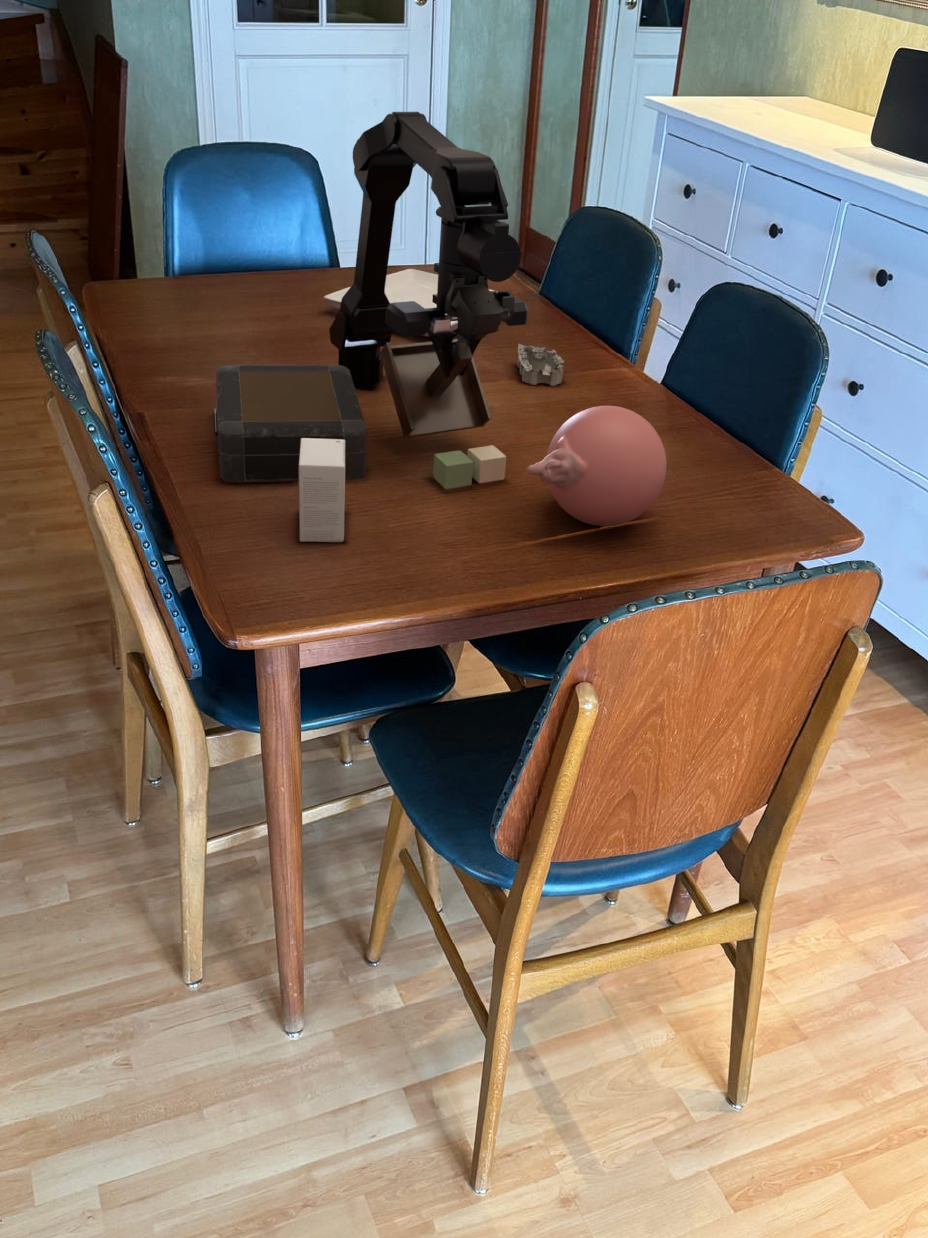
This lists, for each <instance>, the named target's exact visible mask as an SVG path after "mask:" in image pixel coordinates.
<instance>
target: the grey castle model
mask: <svg viewBox="0 0 928 1238" xmlns="http://www.w3.org/2000/svg"><path fill="white" fill-rule="evenodd" d="M517 355H518V356H517V357H518V358H517V365H516V366H517V368H518V369H519V374H520V376H521V380H522V382H523V383H526V384H529V385H531V386H537V384H547V385H549V386H552V387H555V386H557V385H559V384H561V383H562V382H563V377H564V370H563V368H564V367H565V360H564V359H563V358H562V357H561V356H559V355H558V354H557V351H556V350H555V349H554V348H552V349H551V350H547V349H546V346H543V347H539V346H533V345H528V346H527V345H524V344H521V343H518V345H517Z"/></svg>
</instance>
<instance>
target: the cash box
mask: <svg viewBox="0 0 928 1238" xmlns="http://www.w3.org/2000/svg"><path fill="white" fill-rule="evenodd" d="M215 382H216V384H215V385H216V386H215V387H216V404H215V407H216V408H214V409H212V419H213V420H212V422H213V434H214V435H215V436H216V437H217V447H218V463H219V464H218V466H219V476H220V478H221V479H222V480H223V482H227V483H232V484H234V483H235V484H239V483H240V484H241V483H242V484H243V483H247V484H248V483H283V482H286V483H288V482H290V483H291V482H297V481H299V454H300V442H301V438H315V439H342V440H345V480H358V479H362V478H364V477H365V476H366V473H367V459H368V457H367V456H368V455H367V454H368V428H367V425H366V422H365V417H364V415H363V411H362V408H361V405H360V401H359V397H358V394H357V390H356V387H354V384H353V380H352V377H351V374H350V370H349V369H348V368H346V367H344V366H342V365H339V364H225V365H222V366H219V368H217V369H216V373H215Z"/></svg>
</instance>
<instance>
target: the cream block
mask: <svg viewBox="0 0 928 1238" xmlns="http://www.w3.org/2000/svg"><path fill="white" fill-rule="evenodd" d="M466 456H467V457H468V458H469V459H470V460H472V461H473V471H472V479H473V480H475V481H476V482H477V483H478V484H483V483H484V484H485V483H491V482H496V481H502V480H505V476H506V465H507V455H506V454H504V452H502V451H501V450H499V448H497V447H496V446H495V445H494V444H493V445H485V446H479V447H472V448H467V454H466Z"/></svg>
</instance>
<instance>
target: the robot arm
mask: <svg viewBox="0 0 928 1238" xmlns="http://www.w3.org/2000/svg"><path fill="white" fill-rule="evenodd" d="M352 163H353V167H354V168H353V174H354V177H355V178H356V180H357V183H358V185H359V187H360V189H361V191H362V202H361V212H360V221H359V230H358V239H357V251H356V260H355V266H354V267H355V268H354V277H353V283H352V285H350V286H349V287H350V289H349V290H348V291H347V292H346V294H345V295H344V296H343V297H342V300H341V305H340V309H339V310H338V314H337V315H336V317H335V319H334V320H333V321H332V324H331V325H330V327H329V328H328V329H329V330H328V332H329V333H328V334H329V340H330V343H331V344H332V346H334V348H336V349H337V350H338V365H342V366H344V367H346V368H348V369H349V370H350V374H351V377H352V380H353V384H354V387H355V388H358V389H366V390H374V389H375V388H376V386H377V385H378V384H379V383H380V382H381V380H382V379H383V378H384V366H383V362H382V359H381V355H380V352H381V350H382V349H381V348H383V347H384V345H385V344H386V343H391V339H392V334H393V331H395V332H396V333H397V334H398V335H400V336H402V337H415V336H421V335H425V334H426V333H428V335H429V337H428V338H429V339H430V342H431V341H432V344H433V346H434V349H435V351H436V354H437V357H438V360H439V363H440V366H441V368H442V371H443V374H444V376H445V377H447V378H448V377H450V372H451V350H452V341H453V339H457V343H462V342H468V345H469V348H470V351H471V355H472V356H473V357H474V354H475V352H476V350H477V348H478V346H479V344H480V342H481V341H482V340H483V339H484V338H485V337H487V336H488V335H489V334H494V333H497V332H498V330H499V328H500V324H501V322H504V324H506V326H507V327H514V326H524V325H527V323H528V317H529V308H528V306H527V304H526V302H525V301H523V300H521V299H520V298H518V297H517V296H516V295H514V293H513V292H512V290H511V289H508V290H498V291H497V290H494V291H489V289H490V288H489V284H488V283H489V282H488V281H490V282H493V283H502V282H504V281H507V280H509V279H510V278H511V277H512V276H513V275H514V274H516V272H517V270H518V268H519V266H520V264H521V260H522V252H521V248H520V244H519V243H518V241H517V239H515V237H513V235H512V236H511V235H510V234H509V233H510V224H509V223H507V222H506V221H505V220H509V212H508V209H507V208H508V206H509V203H508V200H507V197H506V193H505V191H504V188H503V185H502V182H501V177H500V174H499V170H498V168H497V166H496V163H495V162H494V160H493V159H492V158H491V157H490V156H489V155H486V154H484V153H482V152H479V151H475V150H470V149H464V148H461V147H458V146H457V145H456V144H454V143H453V141H452V140H450V139H449V138H448V137H447V136H445V135H444V134H443V133H442V132H440V131H439V130H438V129H437V128H436V127H435V126H434V125H433V124H431V123H430V122H429V121H428V120H427V117H426V115H425V114H424V113H421V112H419V111H392V112H391V113H388V114H386V115H385V117H384V118H383V120H382V121H380V122H379V123H377V124H376V125H374V126H372V127H370V128H368V129H366V130H364V131H363V132H362V133H361V135H360V137H359V138H357V140H356V142H355V144H354V146H353V148H352ZM416 165H418V166H419V167H420V168H421V169H422V170H423V171H424V172H426V174H428V175H429V176H430V178H431V184H430V190H431V191H432V193H433V194H434V195H435V197H436V199H437V201H438V204H439V205H440V206H438V208H436V210H435V215H436V216H437V217H439V218H440V232H439V233H440V235H439V236H440V237H439V251H438V252H439V254H438V262H434V263H433V272H435V273H436V274H437V275H438V288H437V294H433V300H432V302H433V303H435V304H436V305H437V307H436V308H426V309H425V308H423V307H422V306H421V305H419V304H418V303H416V302H415V301H406V302H395V303H390V302H389V300H388V298H387V296H386V294H385V284H386V276H387V275H388V267H389V261H390V251H391V243H392V236H393V228H394V219H395V211H396V205H397V202H398V201H399V199H400V198H401V196H402V195H403V194H404V193H405V192H406V190H407V189H408V187H409V186H410V183H411V179H412V176H413V175H412V174H413V170H414V169H415V167H416ZM445 314H447V315H445ZM451 321H458V329H457V333H455V332H454V331H451V330H450V327H451ZM456 336H457V337H456ZM469 363H470V362H469ZM469 363H468V364H467V365H466V367H465V368H464V369H463V370H462V371H461V373H460V374H459V375H460V376H464V374H465V372H466V370H467V367H468V365H469Z"/></svg>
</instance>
